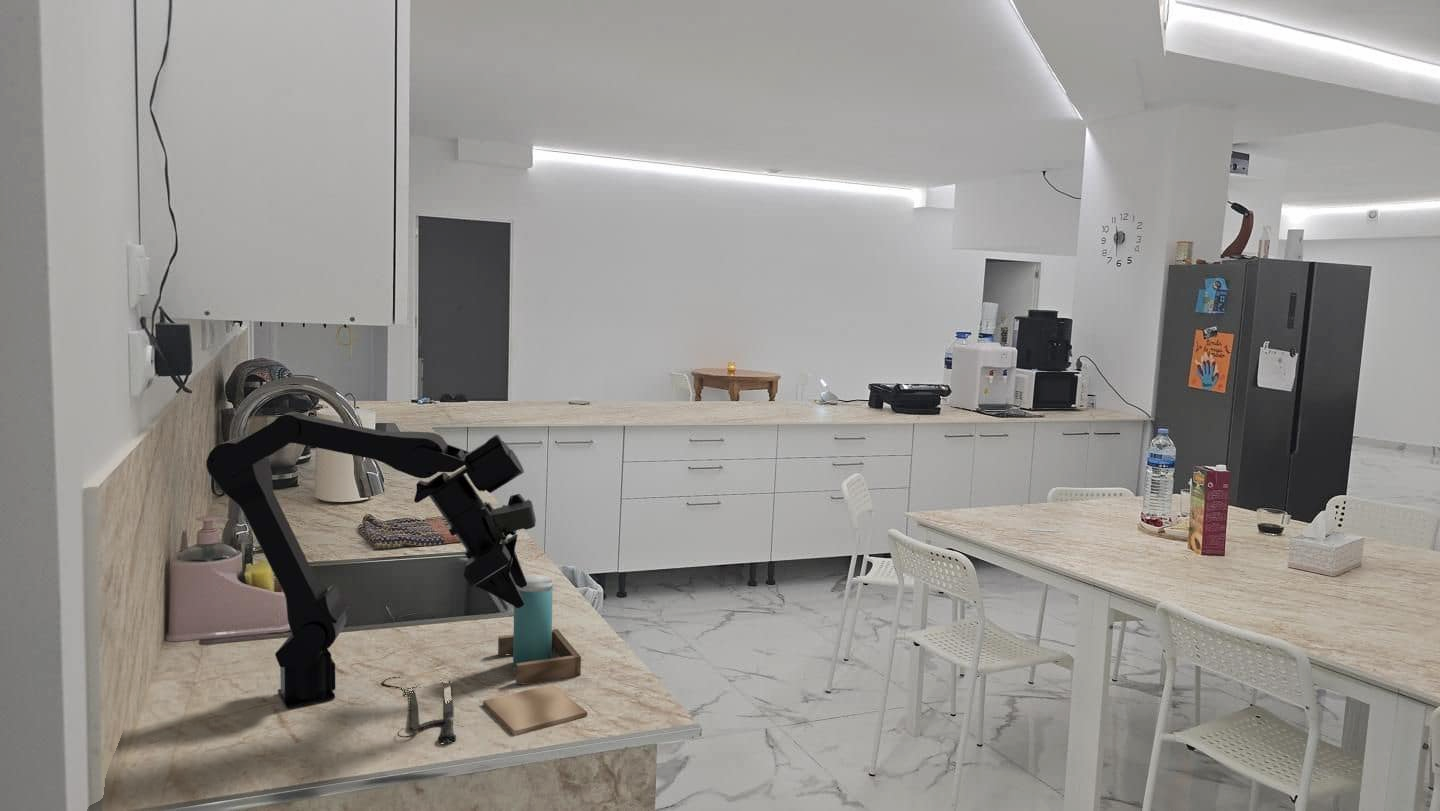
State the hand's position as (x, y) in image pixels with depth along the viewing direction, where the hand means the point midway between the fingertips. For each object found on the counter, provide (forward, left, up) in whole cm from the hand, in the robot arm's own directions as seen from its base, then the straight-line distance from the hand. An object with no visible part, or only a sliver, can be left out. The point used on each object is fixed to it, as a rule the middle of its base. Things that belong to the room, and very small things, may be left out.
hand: (522, 596), depth 136 cm
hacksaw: (-15, +2, -15) cm, 22 cm away
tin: (+5, +8, -15) cm, 17 cm away
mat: (-1, -7, -15) cm, 16 cm away
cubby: (+5, +8, -15) cm, 17 cm away
